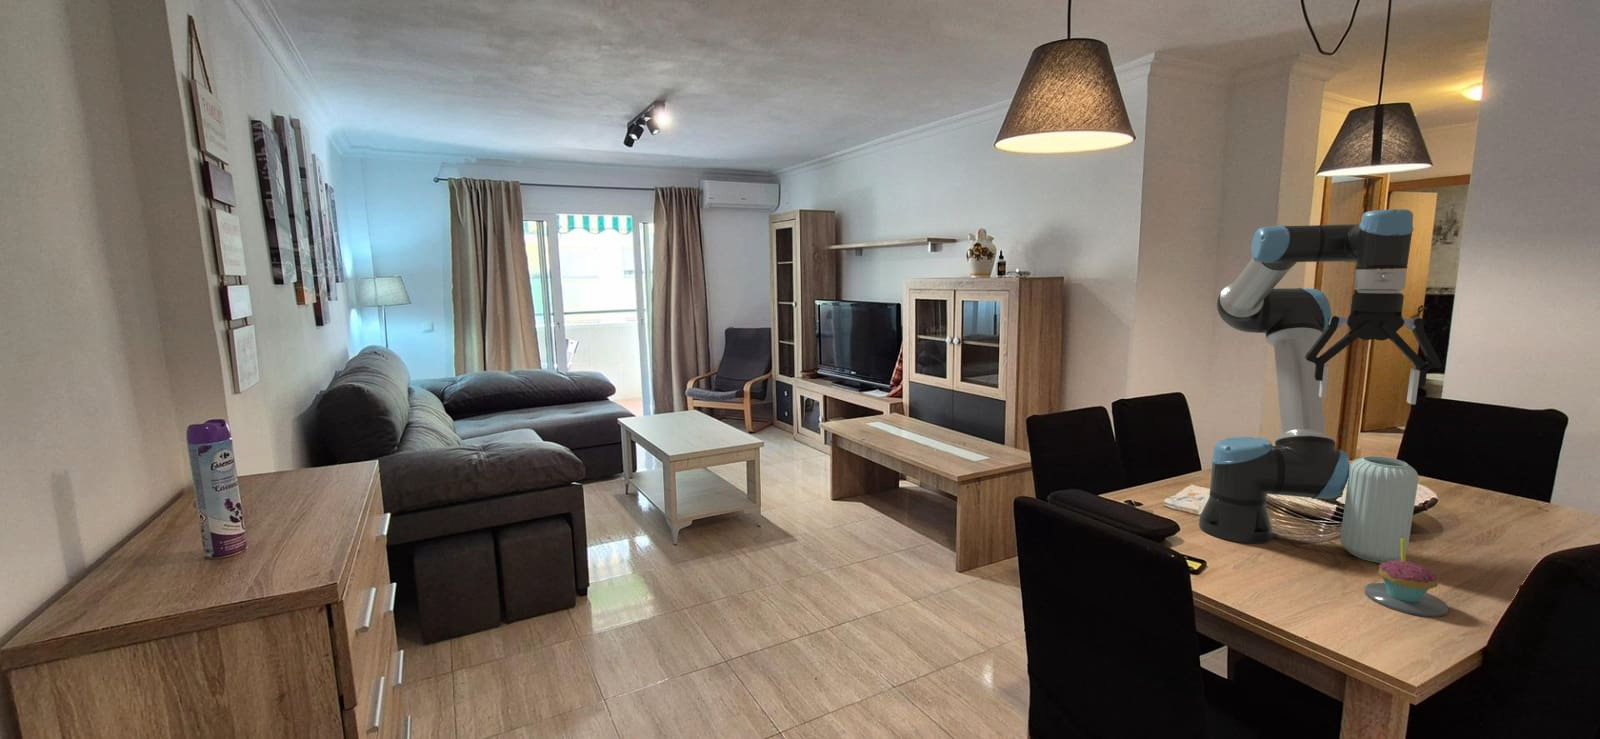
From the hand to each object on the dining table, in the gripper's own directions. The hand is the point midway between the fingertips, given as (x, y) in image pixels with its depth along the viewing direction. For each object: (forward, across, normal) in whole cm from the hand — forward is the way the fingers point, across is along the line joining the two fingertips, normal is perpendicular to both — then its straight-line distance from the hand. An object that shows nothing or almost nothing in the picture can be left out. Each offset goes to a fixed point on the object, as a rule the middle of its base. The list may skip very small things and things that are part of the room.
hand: (1365, 400), depth 131 cm
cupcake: (+38, +9, -3) cm, 39 cm away
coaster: (+39, +9, -3) cm, 40 cm away
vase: (+39, +8, +20) cm, 44 cm away
